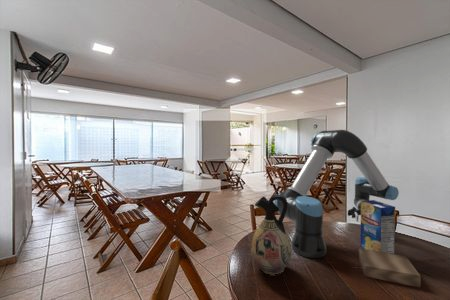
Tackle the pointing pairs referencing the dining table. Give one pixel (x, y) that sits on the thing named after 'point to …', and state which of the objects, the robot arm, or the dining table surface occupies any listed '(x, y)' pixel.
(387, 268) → the walnut pedestal block
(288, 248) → the ceramic jug
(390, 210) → the beverage box
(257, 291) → the dining table surface
